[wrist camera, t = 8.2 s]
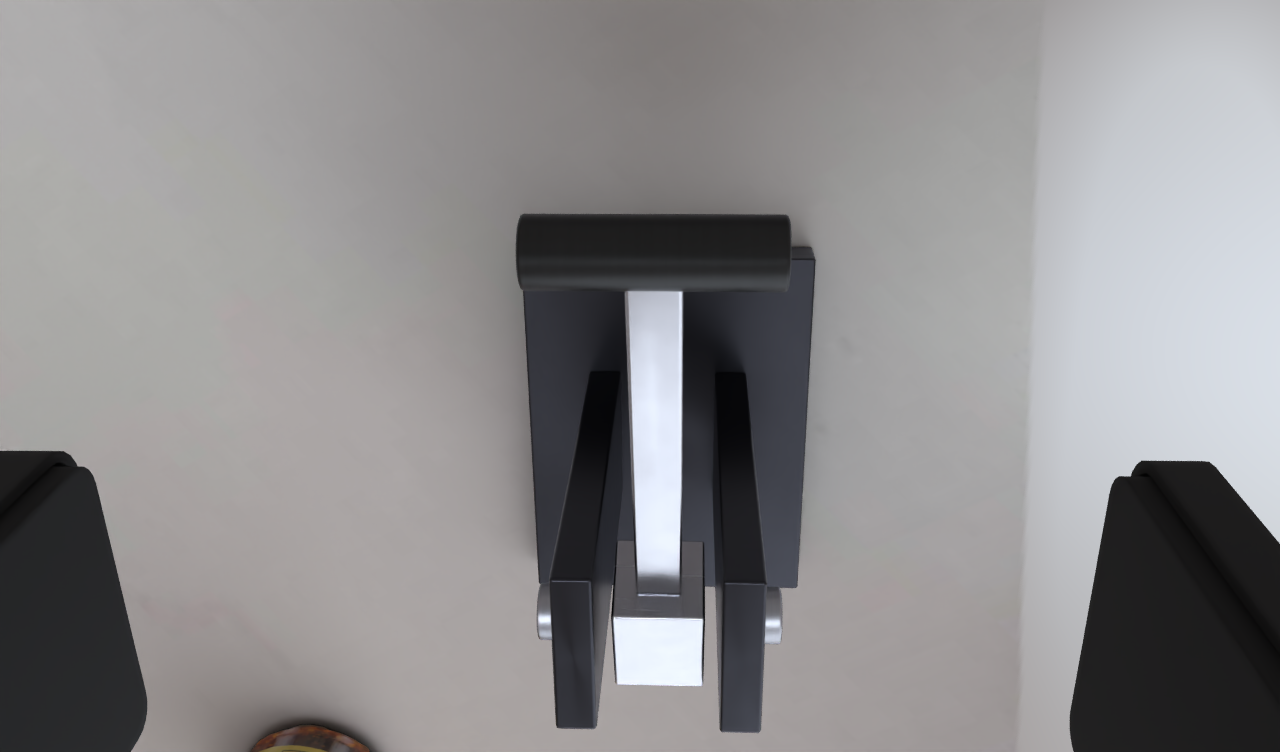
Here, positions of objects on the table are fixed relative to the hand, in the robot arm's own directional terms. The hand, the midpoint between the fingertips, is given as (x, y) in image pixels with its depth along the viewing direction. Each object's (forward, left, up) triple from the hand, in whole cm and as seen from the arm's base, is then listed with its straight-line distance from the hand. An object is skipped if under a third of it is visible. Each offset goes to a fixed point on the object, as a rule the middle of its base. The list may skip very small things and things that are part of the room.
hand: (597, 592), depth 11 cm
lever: (+6, 0, -15) cm, 16 cm away
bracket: (+11, 0, -26) cm, 28 cm away
